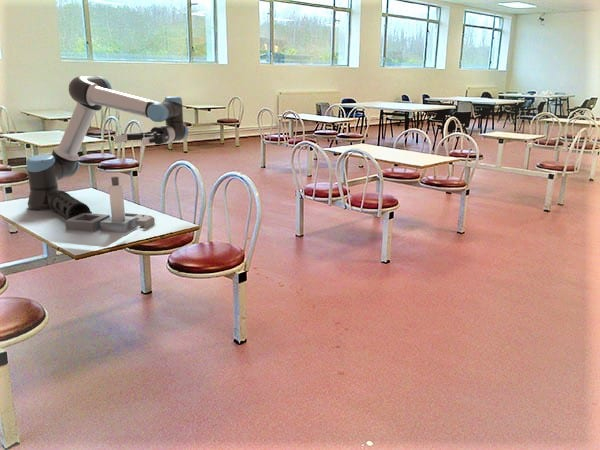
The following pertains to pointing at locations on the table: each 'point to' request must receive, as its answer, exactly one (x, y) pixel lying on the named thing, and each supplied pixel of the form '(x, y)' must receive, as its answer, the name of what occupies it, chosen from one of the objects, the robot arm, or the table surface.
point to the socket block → (85, 222)
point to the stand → (119, 224)
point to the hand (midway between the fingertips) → (129, 140)
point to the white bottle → (116, 200)
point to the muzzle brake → (66, 204)
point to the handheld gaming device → (142, 219)
